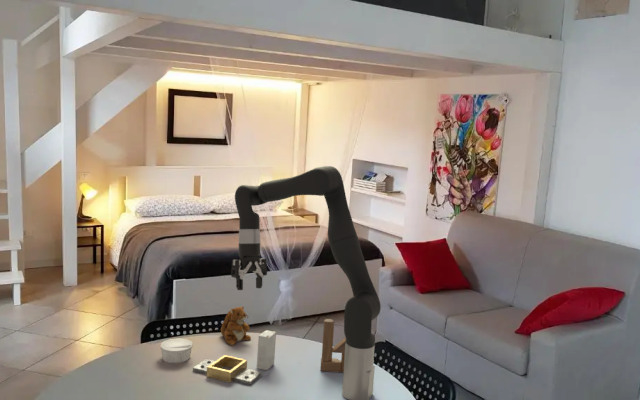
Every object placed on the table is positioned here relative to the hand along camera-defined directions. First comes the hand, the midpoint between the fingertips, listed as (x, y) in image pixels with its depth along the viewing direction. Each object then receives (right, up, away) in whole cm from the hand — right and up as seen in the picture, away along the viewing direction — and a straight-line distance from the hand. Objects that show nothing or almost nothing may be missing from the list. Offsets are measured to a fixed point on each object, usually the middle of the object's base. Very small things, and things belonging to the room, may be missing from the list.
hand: (249, 289), depth 189 cm
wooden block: (+30, -29, +3) cm, 42 cm away
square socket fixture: (-7, -28, -5) cm, 29 cm away
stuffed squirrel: (-10, -24, +26) cm, 37 cm away
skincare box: (+5, -28, +2) cm, 28 cm away
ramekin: (-27, -26, +5) cm, 37 cm away
